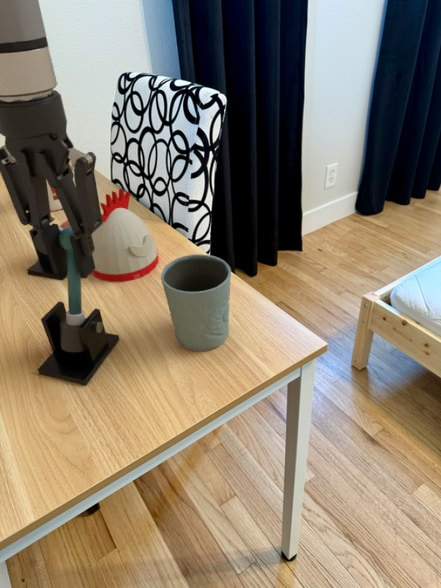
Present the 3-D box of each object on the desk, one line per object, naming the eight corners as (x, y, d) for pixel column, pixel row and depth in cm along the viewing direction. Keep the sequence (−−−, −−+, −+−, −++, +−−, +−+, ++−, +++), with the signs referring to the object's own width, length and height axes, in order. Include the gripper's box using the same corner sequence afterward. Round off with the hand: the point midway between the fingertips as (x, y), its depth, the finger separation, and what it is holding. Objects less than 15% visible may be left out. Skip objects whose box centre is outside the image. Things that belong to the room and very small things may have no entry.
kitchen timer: (172, 256, 89) (164, 187, 80) (125, 289, 80) (110, 216, 71) (123, 238, 95) (111, 173, 86) (75, 268, 86) (55, 198, 77)
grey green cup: (243, 340, 68) (243, 278, 61) (186, 364, 64) (179, 301, 57) (213, 306, 75) (209, 247, 68) (159, 326, 71) (150, 265, 64)
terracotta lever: (87, 213, 98) (82, 195, 95) (104, 215, 96) (100, 197, 94) (37, 253, 84) (30, 233, 81) (56, 256, 83) (50, 236, 80)
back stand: (57, 249, 93) (47, 215, 88) (90, 254, 90) (82, 219, 86) (27, 274, 85) (14, 238, 80) (62, 280, 83) (51, 244, 78)
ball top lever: (68, 222, 61) (47, 226, 57) (95, 225, 60) (76, 230, 56) (72, 337, 67) (54, 348, 63) (97, 343, 66) (80, 354, 62)
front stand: (76, 330, 71) (64, 291, 66) (120, 339, 69) (111, 300, 64) (38, 374, 63) (21, 333, 59) (86, 386, 61) (73, 345, 56)
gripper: (108, 87, 47) (139, 264, 62) (-14, 83, 52) (41, 249, 66) (70, 105, 42) (114, 295, 56) (-64, 98, 46) (8, 276, 60)
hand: (74, 270), depth 61 cm, fingers closed on ball top lever, 4 cm apart
